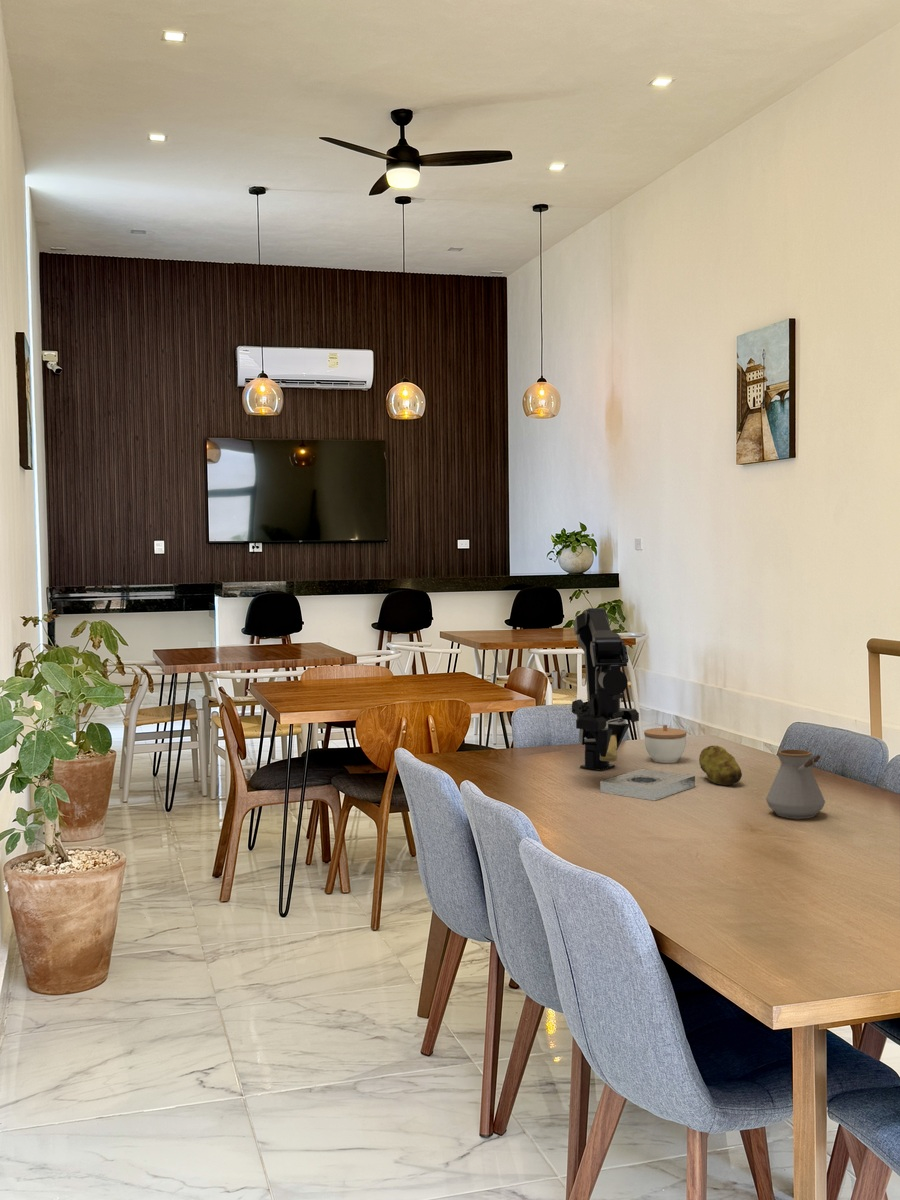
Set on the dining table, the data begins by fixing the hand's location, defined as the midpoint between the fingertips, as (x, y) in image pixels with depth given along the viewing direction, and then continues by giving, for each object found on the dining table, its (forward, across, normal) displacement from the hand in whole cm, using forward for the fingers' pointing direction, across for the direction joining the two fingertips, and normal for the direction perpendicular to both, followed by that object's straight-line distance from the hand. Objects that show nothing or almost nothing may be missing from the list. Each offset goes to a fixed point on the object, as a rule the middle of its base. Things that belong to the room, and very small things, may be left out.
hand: (608, 755), depth 256 cm
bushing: (+1, 0, 0) cm, 1 cm away
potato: (+6, -15, +21) cm, 27 cm away
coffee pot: (+6, +8, +51) cm, 52 cm away
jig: (+6, +2, +12) cm, 14 cm away
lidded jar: (+6, -30, -2) cm, 31 cm away
